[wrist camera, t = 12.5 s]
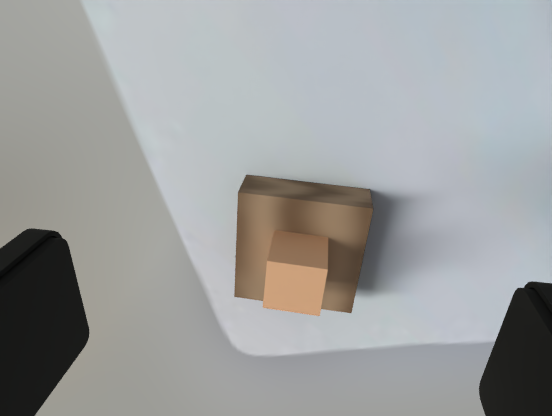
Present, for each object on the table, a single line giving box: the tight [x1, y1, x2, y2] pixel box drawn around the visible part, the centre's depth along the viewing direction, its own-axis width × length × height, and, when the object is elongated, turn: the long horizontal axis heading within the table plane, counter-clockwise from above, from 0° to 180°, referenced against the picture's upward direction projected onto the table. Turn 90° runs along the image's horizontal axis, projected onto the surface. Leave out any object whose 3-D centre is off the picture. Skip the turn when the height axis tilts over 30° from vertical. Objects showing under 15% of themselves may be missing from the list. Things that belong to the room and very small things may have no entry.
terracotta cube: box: [263, 230, 328, 316], centre depth 37 cm, size 5×5×5 cm
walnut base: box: [235, 175, 373, 313], centre depth 41 cm, size 12×12×4 cm
